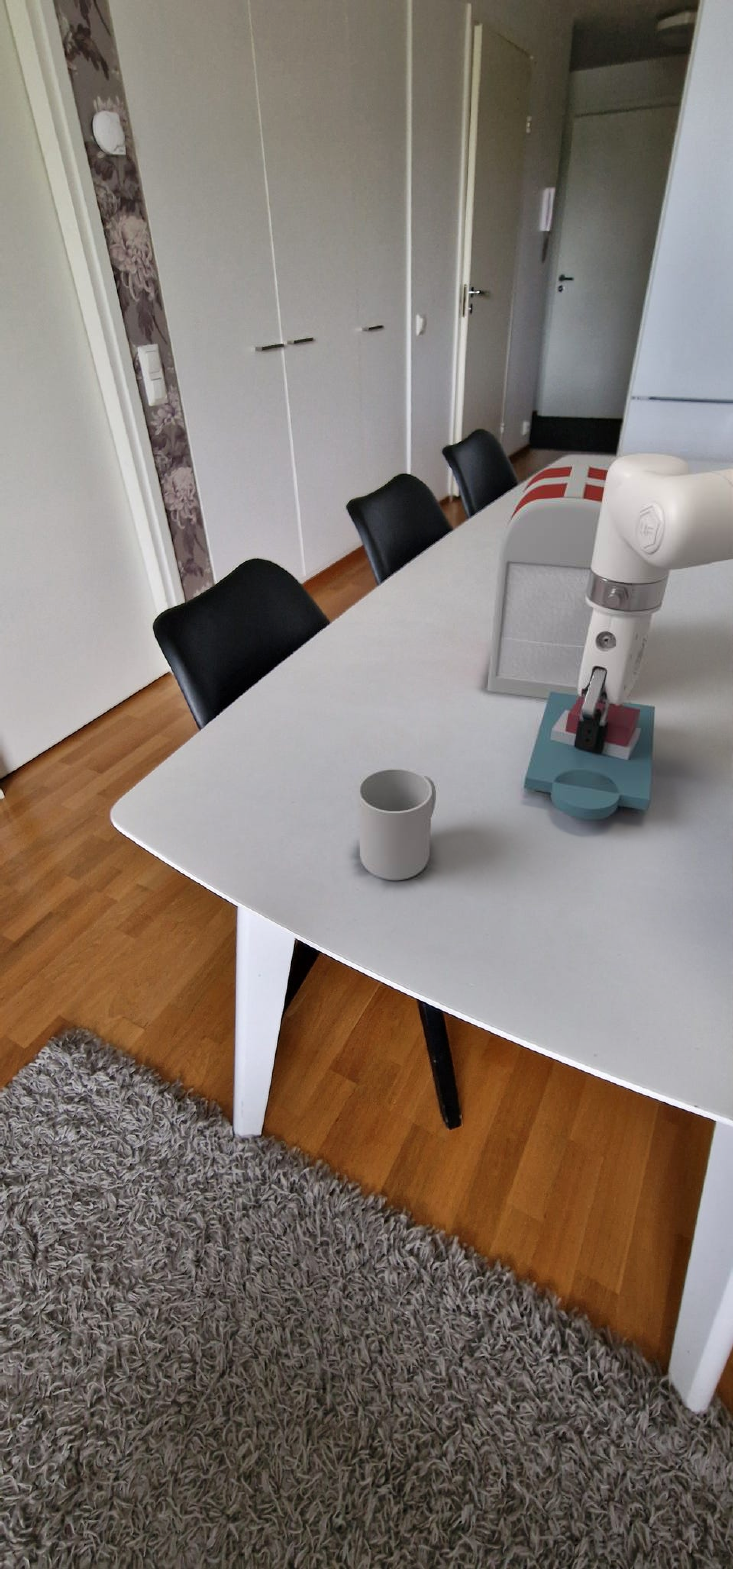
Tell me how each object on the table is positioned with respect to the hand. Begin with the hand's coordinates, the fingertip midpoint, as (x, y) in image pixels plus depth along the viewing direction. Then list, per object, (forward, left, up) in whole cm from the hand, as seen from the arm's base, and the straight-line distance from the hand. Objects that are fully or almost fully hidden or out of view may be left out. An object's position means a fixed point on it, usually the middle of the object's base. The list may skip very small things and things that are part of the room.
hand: (595, 736), depth 82 cm
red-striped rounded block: (-2, -25, -5) cm, 26 cm away
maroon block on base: (0, 0, 0) cm, 0 cm away
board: (+1, +2, -4) cm, 5 cm away
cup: (+24, +13, -5) cm, 28 cm away
